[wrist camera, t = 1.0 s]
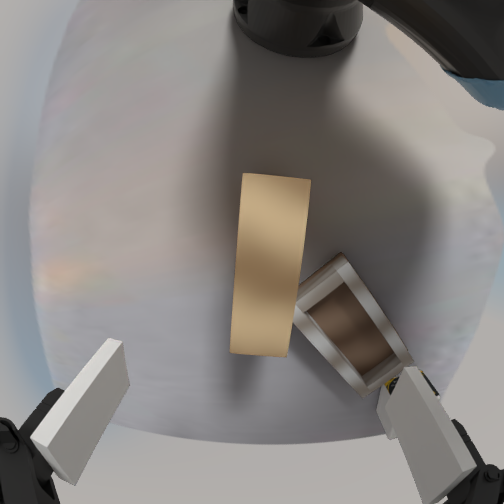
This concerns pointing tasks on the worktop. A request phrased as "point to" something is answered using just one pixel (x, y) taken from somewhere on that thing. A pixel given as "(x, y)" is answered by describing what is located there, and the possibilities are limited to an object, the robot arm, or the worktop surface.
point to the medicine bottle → (383, 399)
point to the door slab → (268, 262)
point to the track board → (349, 327)
